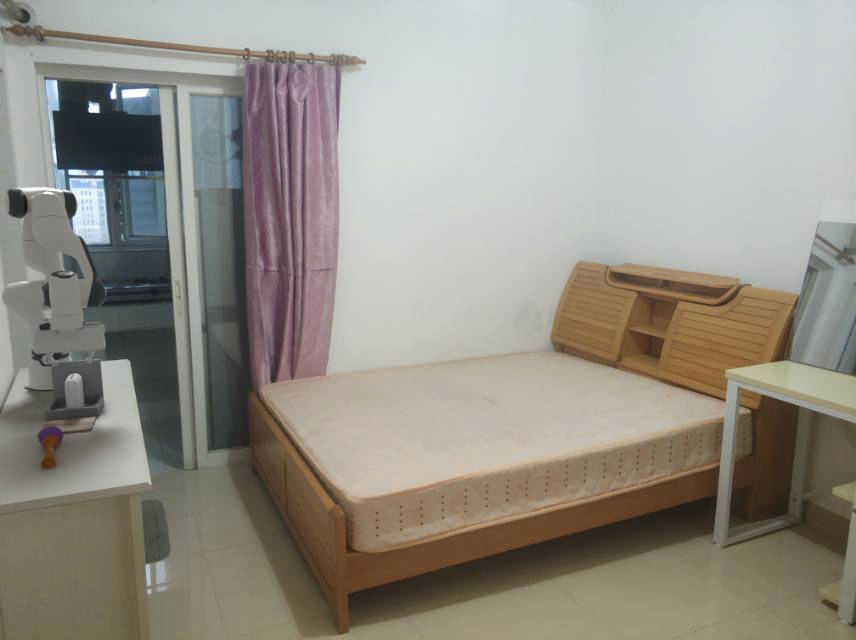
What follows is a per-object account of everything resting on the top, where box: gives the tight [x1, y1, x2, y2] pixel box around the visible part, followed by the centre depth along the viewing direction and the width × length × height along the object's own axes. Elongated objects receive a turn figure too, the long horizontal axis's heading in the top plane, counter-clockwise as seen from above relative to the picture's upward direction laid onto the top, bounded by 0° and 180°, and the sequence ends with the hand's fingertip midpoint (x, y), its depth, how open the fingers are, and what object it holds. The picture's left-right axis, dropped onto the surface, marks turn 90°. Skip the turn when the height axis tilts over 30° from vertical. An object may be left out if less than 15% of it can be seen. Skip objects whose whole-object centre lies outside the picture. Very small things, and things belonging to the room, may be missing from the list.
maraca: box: [37, 426, 64, 469], centre depth 173 cm, size 6×6×20 cm
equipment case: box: [44, 358, 105, 421], centre depth 208 cm, size 15×15×15 cm
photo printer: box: [65, 373, 86, 409], centre depth 208 cm, size 10×4×12 cm, turn 20°
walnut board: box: [36, 415, 98, 437], centre depth 195 cm, size 13×14×1 cm
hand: (72, 365), depth 206 cm, fingers open, 8 cm apart
